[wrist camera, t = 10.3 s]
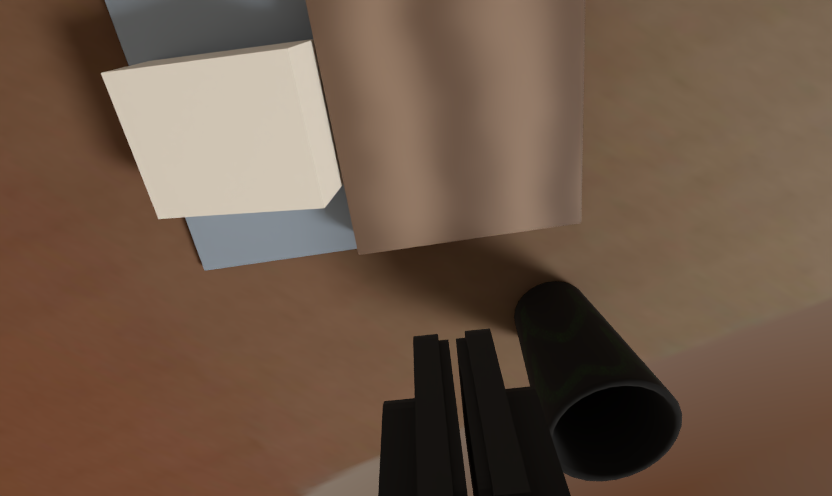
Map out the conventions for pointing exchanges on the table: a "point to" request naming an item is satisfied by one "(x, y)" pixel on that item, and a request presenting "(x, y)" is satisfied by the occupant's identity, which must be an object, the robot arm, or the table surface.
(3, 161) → the table surface
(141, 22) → the mat
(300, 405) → the table surface
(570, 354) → the cup
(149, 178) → the cream rectangular block
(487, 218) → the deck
